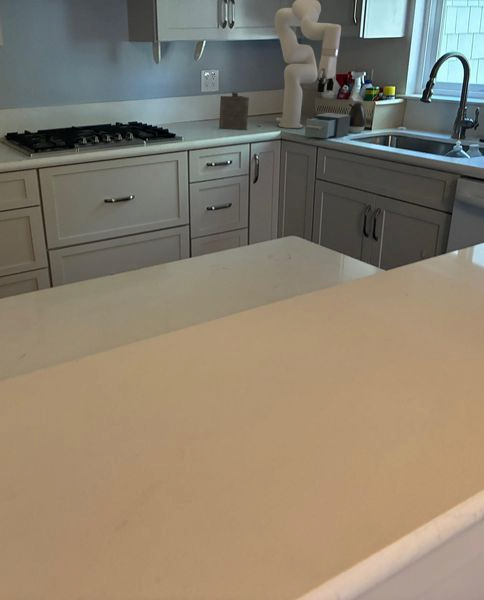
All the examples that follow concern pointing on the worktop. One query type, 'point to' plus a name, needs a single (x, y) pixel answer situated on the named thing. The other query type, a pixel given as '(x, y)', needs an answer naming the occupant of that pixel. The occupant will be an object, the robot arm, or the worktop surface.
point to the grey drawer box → (338, 123)
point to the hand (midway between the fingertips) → (325, 91)
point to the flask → (233, 112)
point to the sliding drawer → (320, 127)
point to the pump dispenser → (357, 117)
